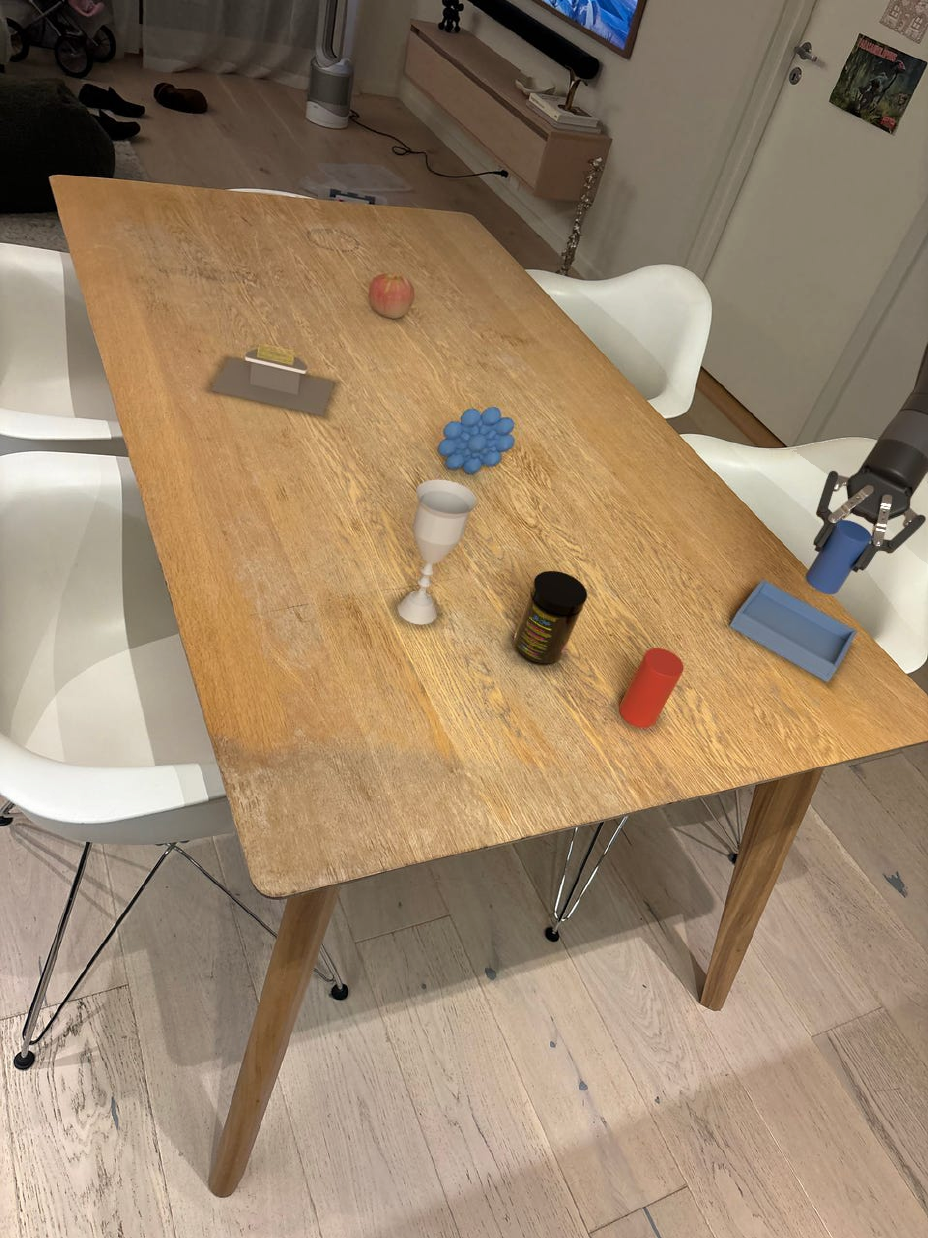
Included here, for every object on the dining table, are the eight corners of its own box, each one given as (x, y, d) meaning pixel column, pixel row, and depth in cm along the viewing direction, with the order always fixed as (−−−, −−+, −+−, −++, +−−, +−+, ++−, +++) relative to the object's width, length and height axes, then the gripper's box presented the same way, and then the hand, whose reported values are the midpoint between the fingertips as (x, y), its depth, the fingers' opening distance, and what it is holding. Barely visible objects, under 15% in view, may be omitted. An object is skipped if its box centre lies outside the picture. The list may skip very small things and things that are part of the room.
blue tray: (848, 645, 134) (857, 631, 132) (827, 682, 126) (837, 668, 125) (754, 592, 139) (762, 578, 137) (729, 626, 131) (737, 611, 129)
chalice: (397, 630, 114) (425, 514, 103) (383, 594, 119) (409, 479, 107) (451, 627, 117) (485, 513, 105) (436, 592, 122) (466, 479, 110)
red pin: (662, 713, 114) (690, 662, 108) (646, 734, 111) (674, 682, 105) (629, 693, 115) (654, 641, 110) (612, 712, 112) (638, 660, 106)
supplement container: (559, 675, 115) (584, 613, 108) (507, 659, 115) (530, 596, 108) (564, 641, 120) (589, 580, 114) (515, 626, 120) (537, 564, 114)
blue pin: (842, 584, 127) (875, 532, 121) (833, 599, 124) (867, 546, 118) (810, 567, 129) (842, 515, 123) (800, 581, 125) (832, 529, 119)
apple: (397, 328, 180) (405, 289, 174) (357, 312, 181) (364, 272, 176) (416, 316, 186) (424, 277, 181) (378, 300, 188) (384, 261, 182)
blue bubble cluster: (500, 463, 150) (519, 398, 143) (505, 486, 145) (525, 420, 138) (430, 453, 148) (446, 386, 140) (433, 476, 143) (450, 408, 135)
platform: (229, 358, 156) (232, 321, 152) (334, 382, 158) (339, 347, 154) (211, 390, 147) (213, 352, 142) (322, 416, 149) (327, 379, 144)
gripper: (858, 418, 121) (789, 525, 120) (964, 468, 117) (893, 580, 116) (849, 440, 128) (784, 541, 127) (948, 488, 124) (881, 593, 123)
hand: (836, 559), depth 122 cm, fingers closed on blue pin, 4 cm apart
